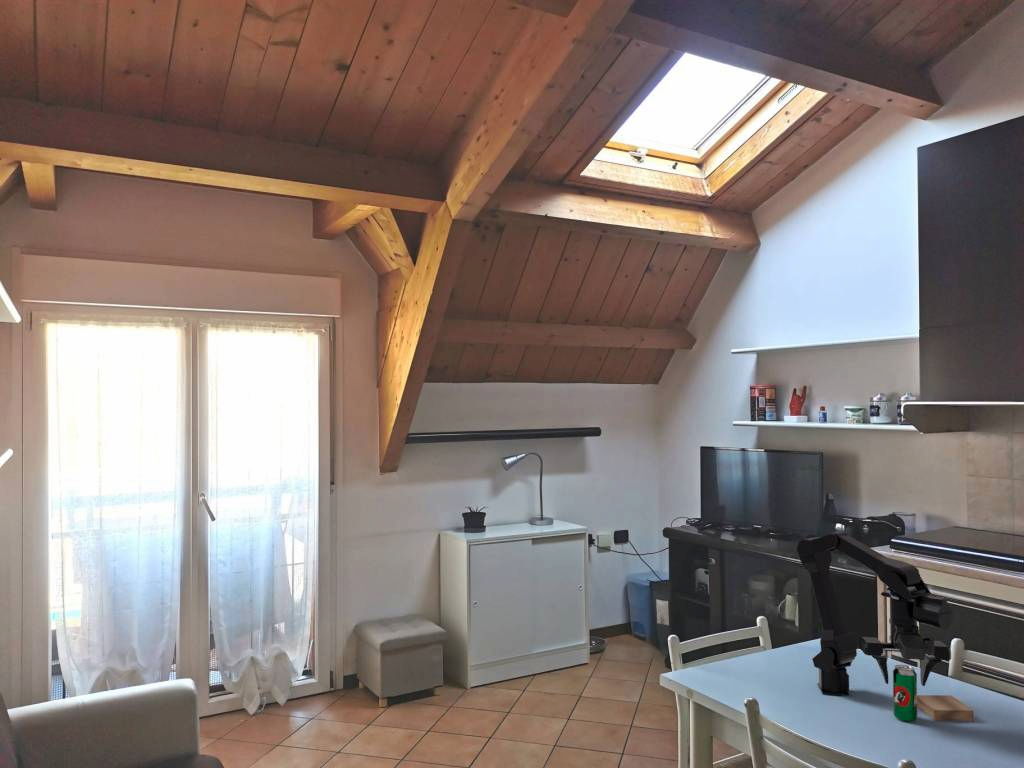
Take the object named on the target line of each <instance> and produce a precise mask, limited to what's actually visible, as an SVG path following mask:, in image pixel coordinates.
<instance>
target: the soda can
mask: <svg viewBox="0 0 1024 768" xmlns="http://www.w3.org/2000/svg"><path fill="white" fill-rule="evenodd" d="M893 667H894V668H893V669H892V696H893V697H892V700H893V701H892V703H893V706H892V707H893V716H894V717H895V719H897V720H898V721H900V722H904V723H905V722H906V723H914V722H916V721H917V720H918V716H919V715H918V707H917V695H918V678H917V677H918V676H917V675H918V674H917V672H916V669H915V668H914V667H913V666H910V665H906V664H895V665H894V666H893Z"/></svg>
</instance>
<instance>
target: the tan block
mask: <svg viewBox="0 0 1024 768" xmlns="http://www.w3.org/2000/svg"><path fill="white" fill-rule="evenodd" d="M917 709H919V710H920V711H922V712H923V713H924V714H926V715H927V716H928V717H929V718H931V719H932V720H933V721H934V722H952V721H953V722H974V719H975V718H974V717H975V716H974V715H975V713H974V709H972V708H971V707H970V706H968V705H967V704H965V703H964V702H962V701H961V700H959V699H958V698H956V697H955V696H954V695H951V694H949V695H948V694H946V695H945V694H943V695H942V694H938V695H937V694H933V695H932V694H931V695H929V694H925V695H923V694H921V695H920V694H917Z"/></svg>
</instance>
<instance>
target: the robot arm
mask: <svg viewBox="0 0 1024 768" xmlns="http://www.w3.org/2000/svg"><path fill="white" fill-rule="evenodd" d="M834 551H839V552H840V553H842V554H844V555H846V556H847V557H848V558H850V559H852V560H853V561H855V562H857V563H859V564H861V565H862V566H864V567H865V568H867V569H869V570H871V571H872V573H874V574H876V575H877V577H878V579H879V581H880V582H882V584H884V585H885V586H887V588H886V589H885V590H883V591H882V592H881V593H880V596H881V597H885V598H889V618H888V623H889V624H890V625H889V629H890V631H889V633H890V635H889V638H888V639H889V641H890V642H883V641H881V640H880V639H879V638H878V637H872V636H871V637H869V636H862V637H861V638H860V639H859V640H858V641H859V642H858V643H859V646H857V643H856V638H855V634H854V632H850V633H849V632H848V631H847V630H846V629H845V627H844V625H843V621H842V618H841V614H840V609H839V605H838V602H837V597H836V593H835V590H834V585H833V581H832V578H831V574H830V569H831V568H830V567H831V563H832V552H834ZM796 553H797V555H798V558H799V560H800V563H801V565H802V566H803V568H804V569H805V570H806V571H807V573H809V576H810V577H809V578H810V580H811V586H812V589H813V594H814V597H815V601H816V605H817V609H818V614H819V618H820V623H821V626H822V632H821V636H820V641H819V642H820V643H819V644H820V651H819V653H817V654H816V655H815V656H813V658H812V663H813V667H815V668H817V669H818V682H817V686H818V689H819V691H820V692H821V694H822V695H830V696H831V695H832V696H849V695H850V693H849V691H850V675H849V673H848V672H847V671H848V670H847V667H851V666H852V663H853V661H854V660H855V659H856V657H857V655H858V652H857V651H858V650H859V649H860V650H861V652H862V653H863V654H864V655H866V656H871V657H872V658H873V659H874V660H876V663H877V664H878V667H879V669H880V672H881V674H882V677H883V680H884V682H885V684H886V685H888V684H889V671H888V663H887V662H888V657H887V655H886V653H885V652H894V653H895V652H899V653H900V654H901V657H902V658H903V659H905V660H917V661H918V660H919V661H920V668H919V669H920V684H921V686H922V687H925V686H926V684H927V681H928V678H929V676H930V674H931V671H932V669H933V668H934V666H935V665H937V664H939V663H941V664H942V662H943V660H944V661H945V660H946V661H950V660H952V651H951V649H950V647H948V646H947V645H946V644H945V643H944V642H943V641H942V640H934V639H933V637H927V636H926V637H925V636H924V637H923V636H921V634H920V629H919V626H918V624H921V625H926V626H929V627H933V628H937V629H941V630H948V629H949V628H950V627H951V625H952V624H953V619H954V612H953V610H952V607H951V606H950V604H948V599H947V598H946V597H937V596H933V595H932V592H931V591H930V589H929V588H928V586H927V585H926V583H925V581H924V580H923V578H922V577H921V574H920V570H919V568H917V567H916V566H915V565H913V564H910V563H908V562H905V561H902V560H898V559H895V558H891V557H888V556H886V555H883V554H882V553H880V552H878V551H877V550H875V549H873V548H871V547H869V546H867V545H866V544H864V543H863V542H861V541H859V540H857V539H855V538H854V537H852V536H850V535H849V533H848V532H845V531H836V532H830V533H829V534H827V535H823V536H821V537H820V536H819V537H818V536H817V537H816V536H815V537H810V538H803V539H801V540H800V541H798V543H797V545H796ZM911 589H913V590H911Z"/></svg>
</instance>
